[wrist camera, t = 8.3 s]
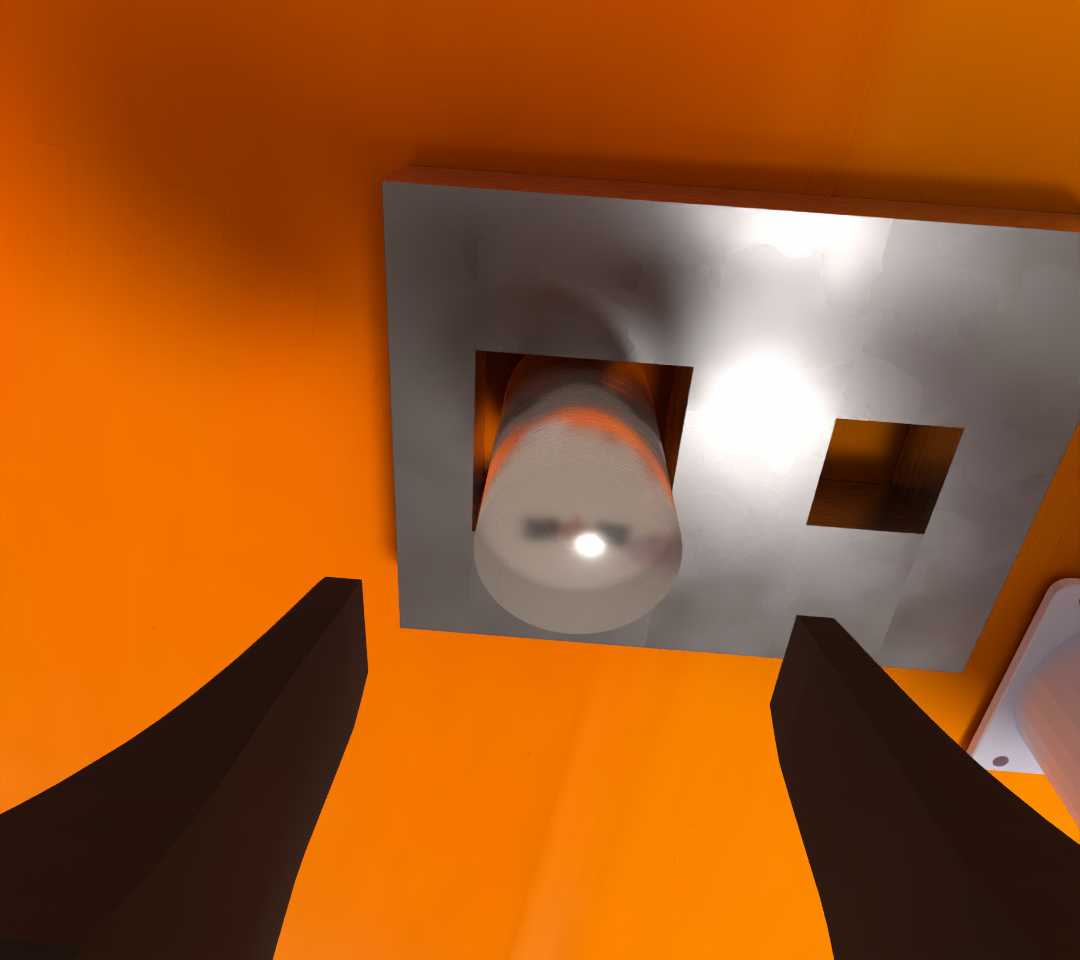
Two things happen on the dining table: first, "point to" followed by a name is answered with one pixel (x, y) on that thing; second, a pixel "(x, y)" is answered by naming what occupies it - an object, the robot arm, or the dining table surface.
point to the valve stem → (577, 498)
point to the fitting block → (746, 393)
